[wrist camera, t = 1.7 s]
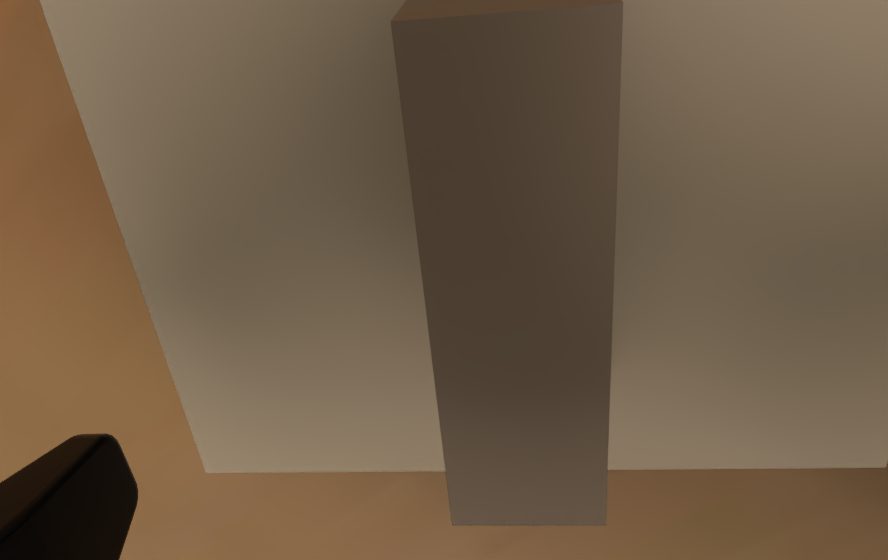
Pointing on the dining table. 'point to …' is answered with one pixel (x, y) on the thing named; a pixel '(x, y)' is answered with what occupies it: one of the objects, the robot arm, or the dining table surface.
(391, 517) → the dining table surface
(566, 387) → the lid
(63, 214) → the dining table surface
